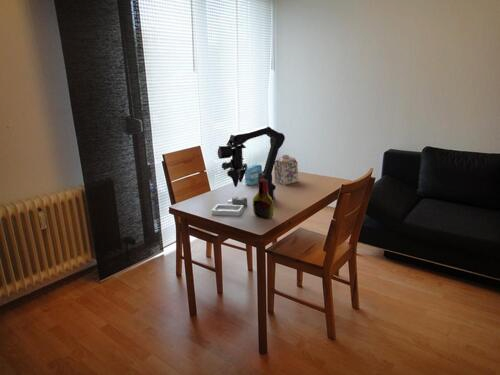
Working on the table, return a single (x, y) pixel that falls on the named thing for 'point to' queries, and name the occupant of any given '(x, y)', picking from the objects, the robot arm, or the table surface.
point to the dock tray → (228, 209)
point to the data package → (252, 174)
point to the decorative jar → (286, 170)
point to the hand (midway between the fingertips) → (238, 184)
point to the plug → (238, 201)
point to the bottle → (263, 201)
